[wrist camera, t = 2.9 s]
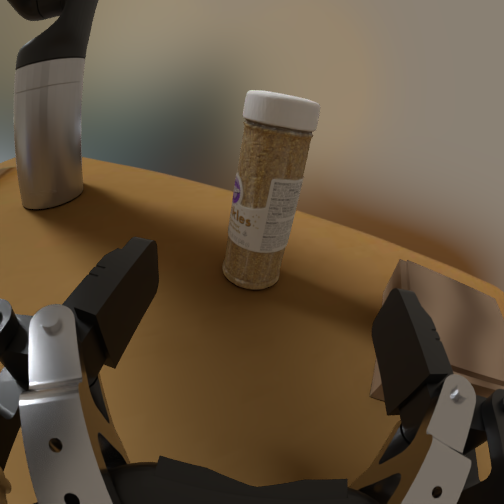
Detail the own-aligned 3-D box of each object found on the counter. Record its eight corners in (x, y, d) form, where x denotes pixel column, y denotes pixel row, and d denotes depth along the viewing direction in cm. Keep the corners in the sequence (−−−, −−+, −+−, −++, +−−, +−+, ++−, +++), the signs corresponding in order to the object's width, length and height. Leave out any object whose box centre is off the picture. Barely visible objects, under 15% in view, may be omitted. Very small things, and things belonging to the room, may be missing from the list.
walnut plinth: (369, 396, 14) (404, 356, 11) (383, 292, 22) (401, 254, 20) (490, 425, 10) (527, 393, 8) (474, 329, 19) (497, 297, 17)
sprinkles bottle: (212, 262, 22) (234, 86, 15) (260, 253, 25) (291, 96, 17) (239, 299, 19) (274, 91, 12) (290, 284, 22) (337, 106, 14)
